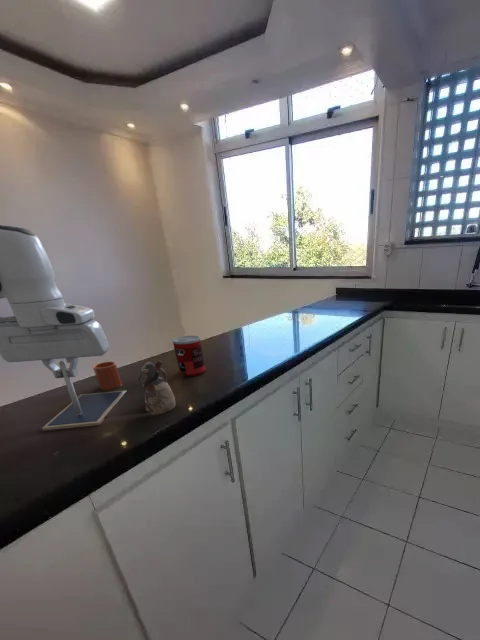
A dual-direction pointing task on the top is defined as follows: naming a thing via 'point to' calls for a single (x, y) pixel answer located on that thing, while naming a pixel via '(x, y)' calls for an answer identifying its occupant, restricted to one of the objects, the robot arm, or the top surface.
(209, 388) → the top surface
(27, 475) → the top surface
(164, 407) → the figurine
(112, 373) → the pen cup
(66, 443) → the top surface
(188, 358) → the canned food
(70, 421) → the tablet
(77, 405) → the stylus
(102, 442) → the top surface
